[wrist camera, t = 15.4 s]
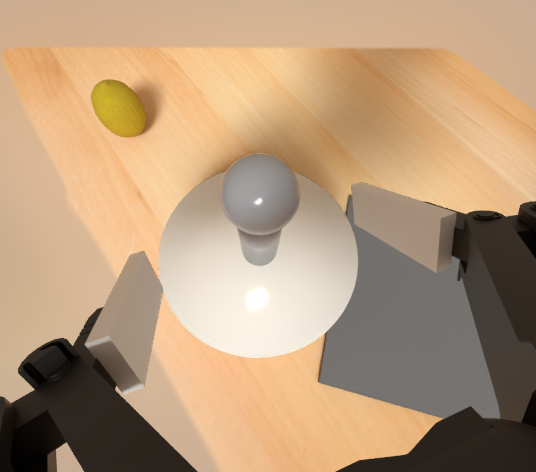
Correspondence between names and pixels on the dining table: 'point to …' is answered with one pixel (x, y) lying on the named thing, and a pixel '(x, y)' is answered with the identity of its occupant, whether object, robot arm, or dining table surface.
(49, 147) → the dining table surface
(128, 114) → the lemon
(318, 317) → the lid
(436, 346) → the mat
